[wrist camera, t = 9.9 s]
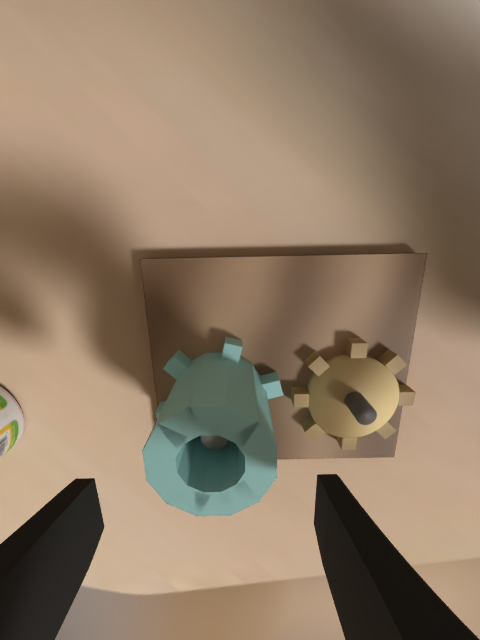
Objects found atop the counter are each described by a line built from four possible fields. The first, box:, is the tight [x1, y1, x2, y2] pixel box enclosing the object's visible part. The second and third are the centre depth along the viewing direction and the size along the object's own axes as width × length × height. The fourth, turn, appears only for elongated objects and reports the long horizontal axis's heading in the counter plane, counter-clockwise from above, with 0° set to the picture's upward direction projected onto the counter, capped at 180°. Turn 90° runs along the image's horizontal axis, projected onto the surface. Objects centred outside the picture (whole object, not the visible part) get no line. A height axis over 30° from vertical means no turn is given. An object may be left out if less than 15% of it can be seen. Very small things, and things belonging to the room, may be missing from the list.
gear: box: [142, 337, 283, 516], centre depth 12 cm, size 7×7×5 cm
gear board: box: [140, 253, 427, 459], centre depth 13 cm, size 14×12×4 cm
